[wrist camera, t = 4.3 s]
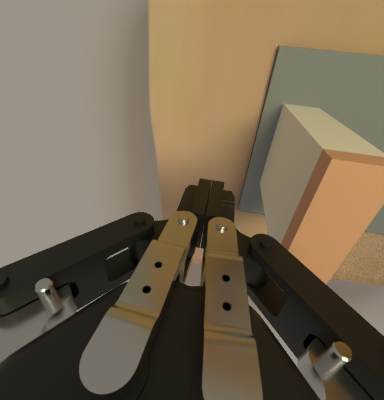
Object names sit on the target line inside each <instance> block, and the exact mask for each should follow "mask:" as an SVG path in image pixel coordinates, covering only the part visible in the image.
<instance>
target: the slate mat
mask: <svg viewBox="0 0 384 400" xmlns="http://www.w3.org/2000/svg"><path fill="white" fill-rule="evenodd" d="M283 104H290V105H299V106H307V107H315V108H320V109H321V110H323V111H324V112H326V113H327V114H329V115H330V116H331V117H333V118H334V119H336V120H337V121H339V122H340V123H342V124H343V125H344V126H346V127H347V128H349V129H350V130H352V131H353V132H355V133H356V134H357V135H359V136H360V137H362V138H363V139H365V140H366V141H368V142H369V143H370V144H372V145H373V146H375V147H376V148H378V149H379V150H381V151H382V152H383V153H384V56H379V55H369V54H359V53H349V52H339V51H328V50H318V49H308V48H298V47H288V46H279V48H278V52H277V56H276V60H275V64H274V68H273V72H272V76H271V80H270V83H269V87H268V91H267V95H266V99H265V103H264V107H263V111H262V115H261V119H260V123H259V127H258V131H257V135H256V139H255V143H254V147H253V151H252V155H251V159H250V163H249V167H248V171H247V175H246V178H245V182H244V186H243V190H242V194H241V198H240V202H239V206H238V211H244V212H250V213H256V214H262V215H265V212H264V206H263V200H262V194H261V189H260V180H261V177H262V174H263V170H264V167H265V163H266V160H267V157H268V153H269V150H270V147H271V143H272V140H273V137H274V133H275V130H276V127H277V123H278V120H279V117H280V113H281V110H282V107H283ZM364 232H370V233H376V234H382V235H384V204H383V206H382V207H381V208H380V210H379V211H378V213H377V214H376V216H375V217H374V218H373V220H372V221H371V223H370V224H369V225H368V227H367V228H366V230H365V231H364Z"/></svg>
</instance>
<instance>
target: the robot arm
mask: <svg viewBox="0 0 384 400" xmlns="http://www.w3.org/2000/svg"><path fill="white" fill-rule="evenodd" d="M211 181H212V180H207V179H200V180H199V184H198V186H194V185H190V186H188V187H187V188H186V189H185V191H184V194H183V196H182V199H181V202H180V204H179V207H178V209H177V212H175V213H173V214H172V215H171V216H170V218H169V219H167V220H161V221H154V218H153V217H152V216H151V215H150V214H147V213H144V212H138V213H134V214H131V215H128V216H126V217H124V218H121V219H119V220H116V221H114V222H111V223H109V224H107V225H104V226H102V227H99V228H97V229H95V230H92V231H90V232H87V233H85V234H82V235H80V236H77V237H75V238H72V239H70V240H68V241H65V242H63V243H60V244H58V245H56V246H53V247H51V248H48V249H46V250H43V251H41V252H38V253H36V254H33V255H31V256H29V257H26V258H24V259H21V260H19V261H16V262H14V263H12V264H9V265H7V266H4V267H2V268H0V400H384V336H383V335H382V334H380V333H379V332H378V331H377V330H376V329H375V328H374V327H373V326H371V325H370V324H369V323H368V322H367V321H366V320H365V319H364V318H363V317H362V316H361V315H359V314H358V313H357V312H356V311H355V310H354V309H353V308H352V307H350V306H349V305H348V304H347V303H346V302H345V301H344V300H343V299H341V298H340V297H339V296H338V295H337V294H336V293H335V292H333V290H332V289H330V288H329V287H328V286H327V285H326V284H325V283H324V282H323V281H321V280H320V279H319V278H318V277H317V276H316V275H315V274H314V273H313V272H311V271H310V270H309V269H308V268H307V267H306V266H305V265H304V264H303V263H301V262H300V261H299V260H298V259H297V258H296V257H295V256H294V255H292V254H291V253H290V252H289V251H288V250H287V249H286V248H285V247H284V246H282V245H281V244H280V243H279V242H278V241H277V240H276V239H274V238H273V237H271V236H269V235H265V234H256V235H254V236H253V237H252V238H250V237H248V236H246V235H243V234H242V233H240V232H239V231H238V230H237V229H236V226H235V224H234V204H235V203H234V202H235V196H234V195H233V193H232V192H231V191H226V190H223V188H224V182H220V181H212V186H211ZM210 188H211V191H210ZM209 194H210V196H209ZM204 222H205V223H204ZM203 227H204V229H203ZM202 233H203V236H202ZM201 238H202V243H201ZM200 243H201V248H204V252H203V258H202V268H201V282H200V286H193V287H192V286H187V285H185V284H184V283H185V280H186V277H187V274H188V271H189V268H190V265H191V262H192V258H193V254H194V252H195V248H196V247H198V248H200ZM127 247H128V249H127V250H125V251H123V252H121V253H119V254H117V255H115V256H113V257H111V258H109V259H107V258H108V257H109V256H111V255H113V254H115V253H117V252H119V251H121V250H123V249H125V248H127ZM106 259H107V260H106ZM269 276H270V277H271V278H270V277H269ZM128 279H130V280H129V281H128V282H126V283H123V282H125V281H127V280H128ZM122 283H123V284H122ZM120 284H121V285H120ZM118 285H119V286H118ZM278 286H279V287H280V288H281V289H282V290H281V289H280V288H279V287H278ZM113 288H114V289H113ZM111 289H112V290H111ZM110 290H111V291H110ZM108 291H109V292H108ZM106 292H108V293H106ZM105 293H106V294H105ZM103 294H104V295H103ZM247 294H248V295H249V297H250V298H251V299H252V301H253V302H254V303H255V304H256V306H257V307H258V308H259V310H260V311H261V312H262V313H263V315H264V316H265V317H266V319H267V320H268V321H269V322H270V324H271V325H272V326H273V328H274V329H275V330H276V331H277V333H278V334H279V335H280V337H281V338H282V339H283V341H284V342H285V343H286V344H287V346H288V347H289V348H290V350H291V351H292V352H293V353H294V355H295V356H296V357H297V359H298V368H297V366H296V365H295V364H294V362H293V361H292V359H291V358H290V357H289V355H288V354H287V353H286V351H285V350H284V348H283V347H282V345H281V344H280V343H279V341H278V340H277V338H276V337H275V336H274V334H273V333H272V332H271V330H270V329H269V327H268V326H267V325H266V323H265V322H264V320H263V319H262V318H261V316H260V315H259V314H258V313H257V312H256V311H255V310H254V309H253V308H252V307H251V306H249V305H248V297H247ZM101 295H103V296H101ZM100 296H101V297H100ZM98 297H100V298H98ZM96 298H98V299H97V300H95V299H96ZM93 300H95V301H94V302H92V303H90V302H91V301H93ZM88 303H90V304H89V305H87V306H86V307H84V308H83V309H81V310H80V311H78V312H76V310H78V309H80V308H81V307H83V306H84V305H86V304H88Z"/></svg>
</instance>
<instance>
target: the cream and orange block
mask: <svg viewBox="0 0 384 400" xmlns="http://www.w3.org/2000/svg"><path fill="white" fill-rule="evenodd" d="M260 189H261V194H262V200H263V206H264V212H265V218H266V224H267V230H268V235H269V236H271V237H273V238H274V239H276V240H277V241H278V242H279V243H280V244H281V245H282V246H284V247H285V248H286V249H287V250H288V251H289V252H290V253H291V254H292V255H294V256H295V257H296V258H297V259H298V260H299V261H300V262H301V263H303V264H304V265H305V266H306V267H307V268H308V269H309V270H310V271H311V272H313V273H314V274H315V275H316V276H317V277H318V278H319V279H320V280H321V281H323V282H324V283H325V284H327V283H328V281H329V280H330V279H331V277H332V276H333V274H334V273H335V272H336V270H337V269H338V267H339V266H340V265H341V263H342V262H343V260H344V259H345V258H346V256H347V255H348V253H349V252H350V251H351V249H352V248H353V246H354V245H355V244H356V242H357V241H358V239H359V238H360V237H361V235H362V234H363V232H364V231H365V230H366V228H367V227H368V225H369V224H370V223H371V221H372V220H373V218H374V217H375V216H376V214H377V213H378V211H379V210H380V208H381V207H382V206H383V204H384V153H383V152H382V151H381V150H379V149H378V148H376V147H375V146H373V145H372V144H370V143H369V142H368V141H366V140H365V139H363V138H362V137H360V136H359V135H357V134H356V133H355V132H353V131H352V130H350V129H349V128H347V127H346V126H344V125H343V124H342V123H340V122H339V121H337V120H336V119H334V118H333V117H331V116H330V115H329V114H327V113H326V112H324V111H323V110H321V109H320V108H315V107H307V106H299V105H290V104H283V107H282V110H281V113H280V117H279V120H278V123H277V127H276V130H275V133H274V137H273V140H272V143H271V147H270V150H269V153H268V157H267V160H266V163H265V167H264V170H263V174H262V177H261V180H260Z"/></svg>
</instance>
